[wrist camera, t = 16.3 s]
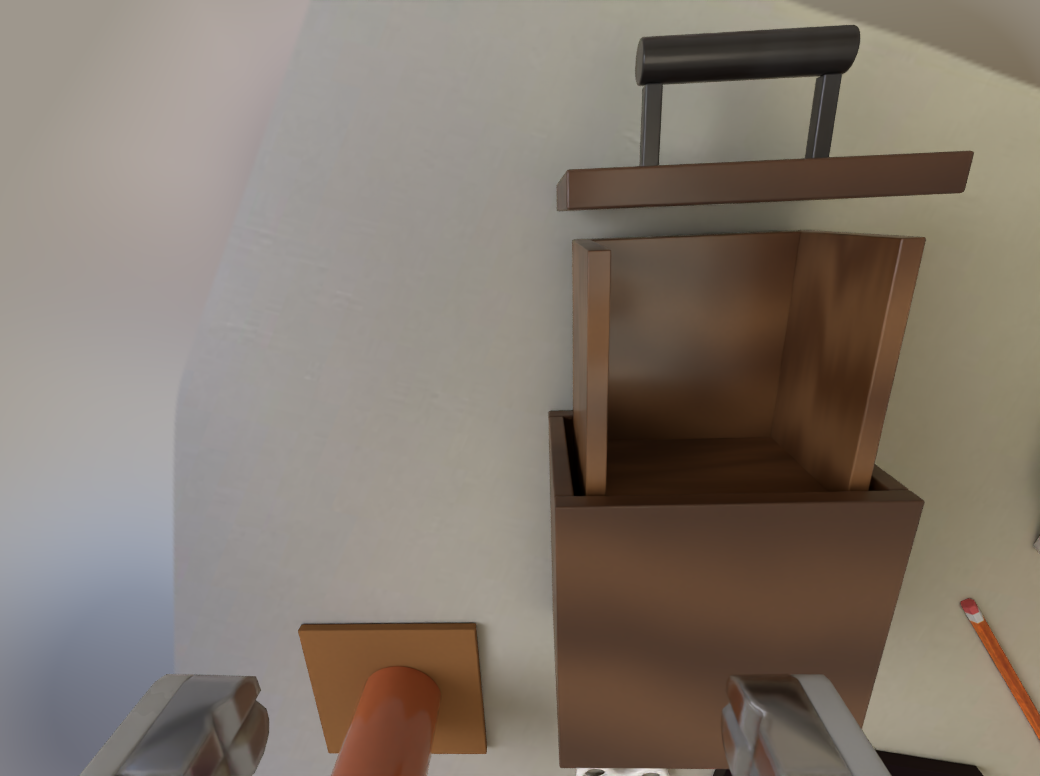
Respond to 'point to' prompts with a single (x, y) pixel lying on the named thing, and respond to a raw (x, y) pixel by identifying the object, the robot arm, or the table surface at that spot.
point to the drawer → (741, 297)
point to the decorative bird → (1037, 545)
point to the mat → (425, 647)
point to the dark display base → (910, 767)
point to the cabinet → (710, 605)
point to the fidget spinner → (624, 771)
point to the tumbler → (391, 725)
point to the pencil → (1002, 663)
